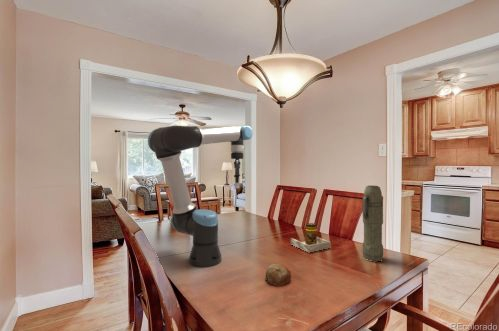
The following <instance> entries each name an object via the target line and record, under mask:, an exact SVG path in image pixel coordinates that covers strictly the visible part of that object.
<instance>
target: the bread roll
mask: <svg viewBox="0 0 499 331" xmlns="http://www.w3.org/2000/svg"><path fill="white" fill-rule="evenodd" d="M291 279H292V274H291V271H290V270H289V268H288V267H287V266H286V265H284V264H281V263H272V264H270V265H269V266H268V267H267V268H266V271H265V281H266V280H267V281H266V282H267V283H269V282H270V283H269V284H270V285H273V284H275V285H274V286H283V285H282V284H284V285H286V284H285V283H287V284H288V282H290V281H291Z"/></svg>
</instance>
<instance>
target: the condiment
mask: <svg viewBox="0 0 499 331" xmlns="http://www.w3.org/2000/svg"><path fill="white" fill-rule="evenodd" d="M317 231H318V230H317V224H316V223H313V222H310V223H309V222H307V223H306V224H305V239H304V241H305V242H306V243H305V244H307V245H312V244H317V237H318V232H317Z"/></svg>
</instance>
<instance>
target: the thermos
mask: <svg viewBox="0 0 499 331" xmlns="http://www.w3.org/2000/svg"><path fill="white" fill-rule="evenodd" d="M363 195H364V196H362V201H361V202H362V208H361V209H362V211H361V212H362V222H363V241H362V254H363V255H362V258H363V257H364V258H365V259H368V260H372V261H381V260H383V261H384V258H383V256H384V245H383V236H382V235H383V224H384V197H383V193H382V190H381V187H380V186H379V185H366V186H365V189H364V192H363ZM365 259H364V260H365Z"/></svg>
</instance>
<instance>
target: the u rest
mask: <svg viewBox="0 0 499 331" xmlns="http://www.w3.org/2000/svg"><path fill="white" fill-rule="evenodd" d="M305 241H306V240H304V241H300V240H297V239H295V238H293V237H291V238H290V246H291V245H293V246H292V247H294V246H295V247H294V248H296V247H297V248H296V249H298V248H300V249H302V250H304V251H303V252H305V251H306V252H305V253H307V252H308V253H307V254H311V253H310V252H313V253H315V252H314V251H318V252H320V251H319V250H322V251H324V250H323V249H327V250H329V249H328V248H330V249H331V241H329V240H326V239H325V238H321V237H318V236H317V244H312V245H307V244H305V243H306V242H305ZM300 249H299V250H300ZM302 250H301V251H302Z"/></svg>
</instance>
